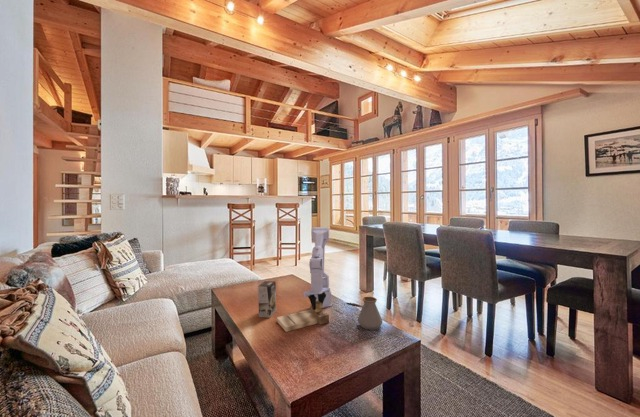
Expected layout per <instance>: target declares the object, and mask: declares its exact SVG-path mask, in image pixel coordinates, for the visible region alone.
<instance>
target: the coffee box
mask: <svg viewBox="0 0 640 417" xmlns="http://www.w3.org/2000/svg"><path fill="white" fill-rule="evenodd" d="M276 283H277V282H276V280H275V281H272V280H268V281H267V280H264V281H263V282H262V283H260V284H259V285H258V288H257V292H258V294H257V295H258V317H259V318H265V319H266V318H268V319H270V318H271V317H272V316H273V314H275V312H277V298H276V297H277V294H276V292H277V290H276Z"/></svg>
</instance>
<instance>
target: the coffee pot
mask: <svg viewBox="0 0 640 417" xmlns="http://www.w3.org/2000/svg"><path fill="white" fill-rule="evenodd" d="M377 300H378V299H377V298H376V297H373V296H364V297H363V298H362V301H363V305H361V304H357V303H354V302H353V303H352V302H345V303H344V304H343V305H344V307H346V305H347V306H352V307H357V308H361V310H360V312H359V314H358V317H357V322H358V324H359V325H360V326H361V327H362V329H364V328H366V329H365V330H367V329H369V331H374V329H375V330H377V329H379V328H380V327H381V326H382V324H383V318H382V316H381V314H380V311H379V310H378V307H377V304H376V302H377Z"/></svg>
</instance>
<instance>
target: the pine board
mask: <svg viewBox="0 0 640 417" xmlns="http://www.w3.org/2000/svg"><path fill="white" fill-rule="evenodd" d="M276 322H277V323H278V325H280V327H281V328H282V329H283V330H284V331H285V332H286V333H287V332H291V331H294V330H295V331H296V330H298V329H303V328H305V327H308V326H313V325H316V324H319V323H318V315H317V314H316V313H315V312H313V311H312V310H311V309H310V308H309V309H306V310H302V311H298V312H294V313H289V314H285V315H281V316H277V317H276Z"/></svg>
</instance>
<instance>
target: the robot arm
mask: <svg viewBox="0 0 640 417" xmlns="http://www.w3.org/2000/svg"><path fill="white" fill-rule="evenodd" d="M311 239H312V242H313V243H314V246H313V248H312V251H311V256H310V257H311V258H310V259H309V264H308V266H309V272H310V290H309V289H308V290H306V291H303V292H302V297H303V298H308V300H309V302H310V305H311V306H312V309H313V310H315V309H316V301H319V302H321V303H322V309H324V308H328V307H332V306H333V304H332V292H331V287H330V277H329V274H328V273H326V272H325V251H326V248H325V247H326V244H327V243H329V241H330V228H329V227H328V226H325V227H324V226H323V227H317V226H316V227H315V226H313V227H312V228H311Z"/></svg>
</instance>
